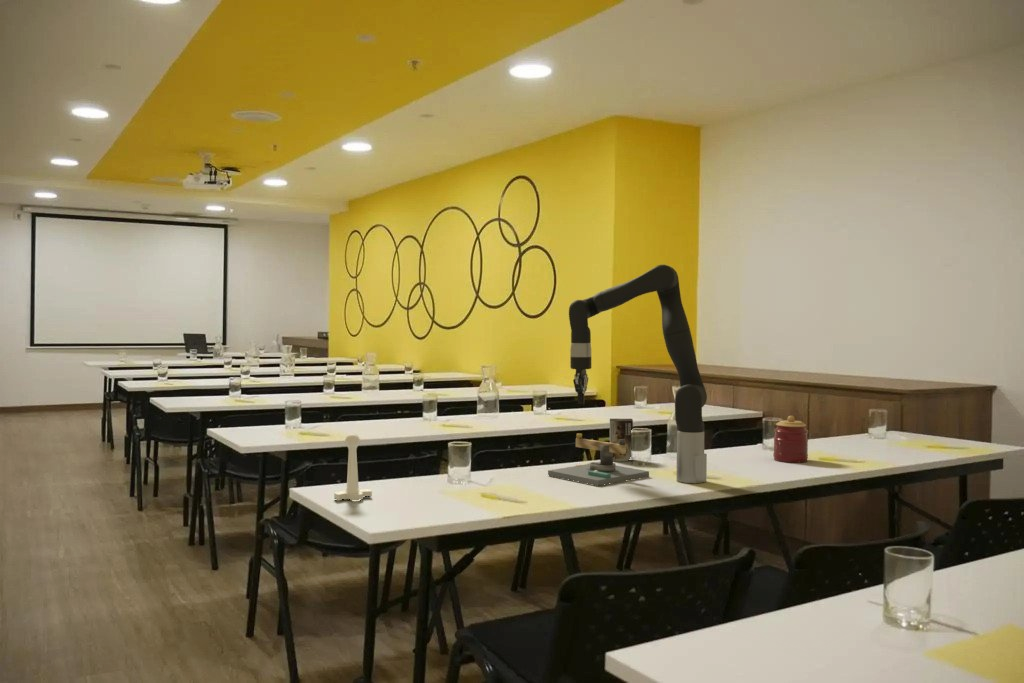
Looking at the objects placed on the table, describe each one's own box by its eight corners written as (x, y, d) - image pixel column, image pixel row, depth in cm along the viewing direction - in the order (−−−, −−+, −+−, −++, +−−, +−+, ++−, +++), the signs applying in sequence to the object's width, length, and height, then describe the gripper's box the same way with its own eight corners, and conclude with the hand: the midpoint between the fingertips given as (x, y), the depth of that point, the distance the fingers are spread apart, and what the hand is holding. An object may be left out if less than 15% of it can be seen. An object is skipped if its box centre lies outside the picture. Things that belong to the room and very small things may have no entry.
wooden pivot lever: (632, 471, 297) (632, 438, 297) (615, 474, 291) (616, 441, 290) (585, 463, 313) (585, 432, 313) (568, 466, 307) (568, 434, 306)
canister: (812, 463, 329) (813, 417, 328) (778, 463, 329) (779, 417, 328) (801, 457, 342) (802, 413, 341) (769, 457, 342) (769, 413, 341)
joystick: (367, 495, 267) (367, 431, 266) (375, 500, 260) (375, 434, 260) (332, 499, 262) (332, 434, 261) (340, 503, 255) (340, 437, 254)
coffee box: (632, 459, 337) (632, 418, 337) (633, 461, 331) (633, 420, 330) (609, 458, 338) (609, 418, 338) (609, 461, 332) (609, 420, 331)
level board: (648, 476, 299) (649, 466, 299) (597, 486, 282) (597, 475, 282) (598, 467, 317) (599, 457, 317) (548, 476, 300) (548, 465, 300)
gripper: (586, 356, 298) (586, 406, 299) (595, 355, 311) (595, 402, 311) (565, 356, 301) (566, 405, 301) (575, 354, 313) (575, 402, 313)
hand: (581, 403), depth 306 cm, fingers closed
